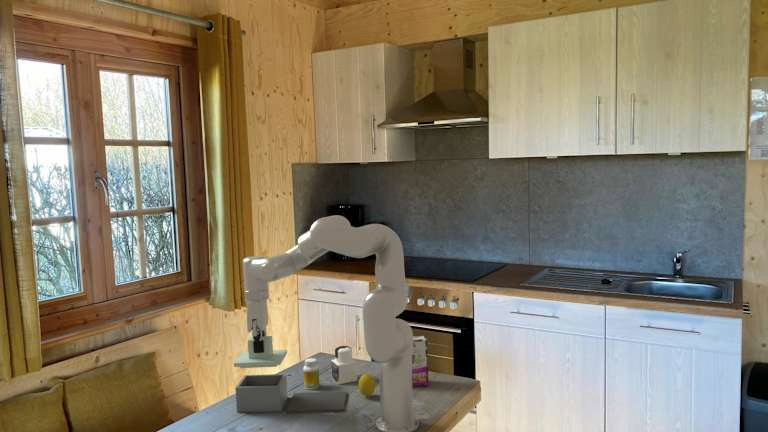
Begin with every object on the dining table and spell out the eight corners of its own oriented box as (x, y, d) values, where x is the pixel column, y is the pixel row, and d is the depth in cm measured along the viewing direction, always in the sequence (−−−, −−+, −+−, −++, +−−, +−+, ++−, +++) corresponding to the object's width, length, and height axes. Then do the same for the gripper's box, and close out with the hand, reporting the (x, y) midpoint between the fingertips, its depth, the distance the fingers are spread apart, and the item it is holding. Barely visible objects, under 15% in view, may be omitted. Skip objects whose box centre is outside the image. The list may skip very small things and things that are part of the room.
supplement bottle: (316, 390, 199) (315, 362, 198) (301, 389, 200) (300, 362, 199) (321, 384, 204) (320, 357, 203) (307, 383, 205) (305, 357, 204)
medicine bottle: (331, 378, 209) (330, 346, 208) (350, 374, 212) (348, 343, 211) (338, 385, 203) (337, 351, 202) (357, 381, 206) (356, 348, 205)
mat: (347, 393, 195) (347, 391, 195) (343, 411, 181) (343, 408, 181) (294, 395, 195) (294, 392, 195) (286, 412, 181) (286, 410, 181)
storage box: (287, 397, 194) (286, 374, 193) (280, 411, 183) (279, 386, 182) (246, 398, 194) (244, 375, 193) (237, 412, 183) (235, 387, 182)
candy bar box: (426, 380, 204) (424, 335, 203) (428, 385, 199) (427, 339, 198) (394, 383, 203) (393, 337, 201) (396, 388, 198) (395, 341, 196)
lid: (287, 356, 193) (285, 332, 192) (280, 368, 181) (278, 342, 180) (244, 357, 193) (242, 334, 192) (234, 370, 181) (232, 344, 181)
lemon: (366, 392, 195) (365, 369, 195) (379, 396, 192) (378, 372, 191) (355, 397, 191) (354, 374, 190) (368, 401, 188) (367, 377, 187)
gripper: (251, 289, 194) (255, 343, 195) (238, 301, 177) (242, 359, 178) (274, 288, 193) (277, 342, 195) (262, 300, 177) (266, 358, 178)
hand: (260, 349), depth 187 cm, fingers closed on lid, 4 cm apart
